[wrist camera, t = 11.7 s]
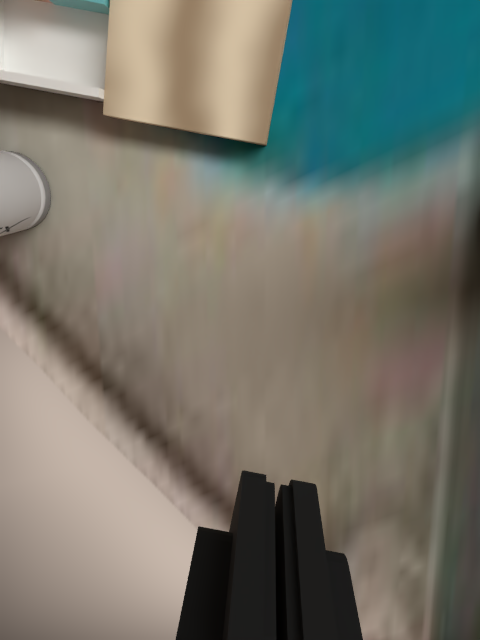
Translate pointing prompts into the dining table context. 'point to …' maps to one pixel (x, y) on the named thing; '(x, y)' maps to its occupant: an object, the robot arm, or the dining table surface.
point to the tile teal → (85, 5)
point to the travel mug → (21, 193)
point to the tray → (53, 48)
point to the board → (196, 64)
